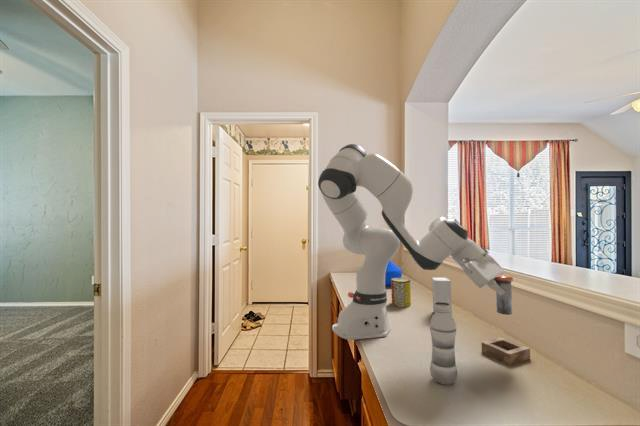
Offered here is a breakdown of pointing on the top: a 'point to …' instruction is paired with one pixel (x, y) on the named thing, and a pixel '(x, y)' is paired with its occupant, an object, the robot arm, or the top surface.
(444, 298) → the skincare box
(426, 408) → the top surface
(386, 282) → the vase
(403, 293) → the beverage can
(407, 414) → the top surface
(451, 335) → the plastic bottle
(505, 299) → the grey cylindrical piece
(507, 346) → the collar
